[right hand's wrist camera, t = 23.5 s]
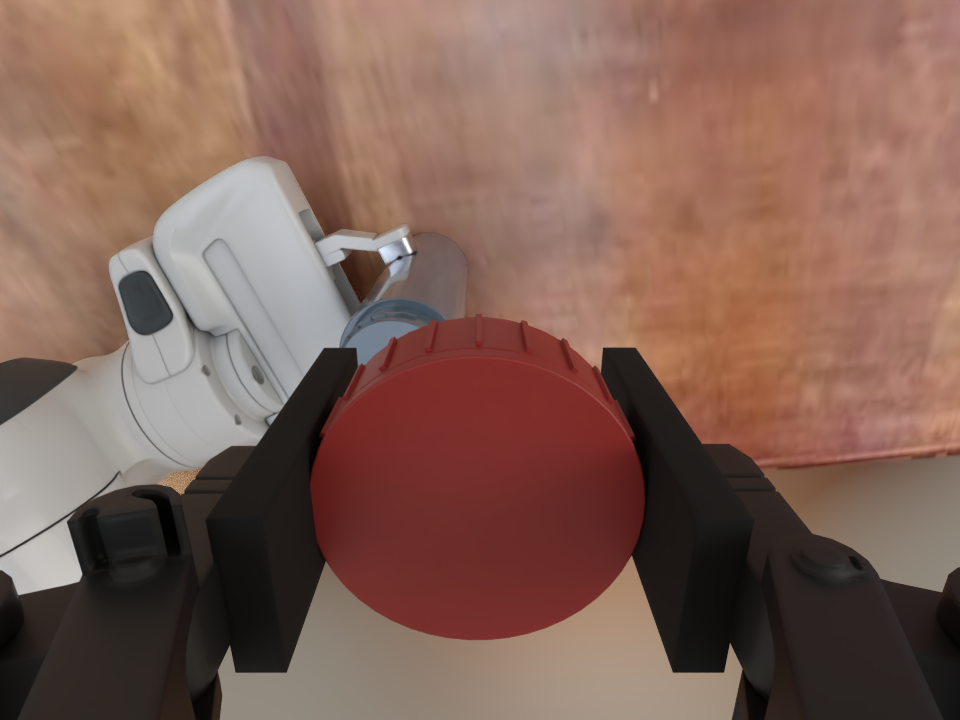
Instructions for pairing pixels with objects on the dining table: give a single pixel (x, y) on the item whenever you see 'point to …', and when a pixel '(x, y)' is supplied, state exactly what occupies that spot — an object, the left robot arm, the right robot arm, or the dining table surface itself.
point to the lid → (477, 481)
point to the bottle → (410, 296)
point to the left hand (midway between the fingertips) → (435, 288)
